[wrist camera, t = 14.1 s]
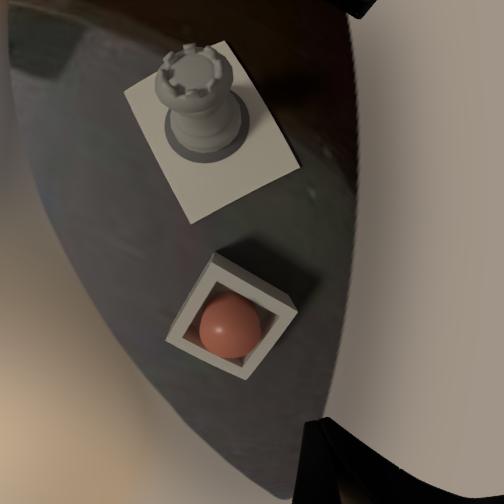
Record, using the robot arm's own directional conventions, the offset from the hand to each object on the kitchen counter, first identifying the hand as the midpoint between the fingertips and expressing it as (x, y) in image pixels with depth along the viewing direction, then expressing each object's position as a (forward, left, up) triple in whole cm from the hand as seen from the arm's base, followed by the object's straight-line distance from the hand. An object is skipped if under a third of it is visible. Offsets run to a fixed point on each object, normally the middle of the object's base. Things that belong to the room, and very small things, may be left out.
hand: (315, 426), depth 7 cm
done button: (+2, -2, -11) cm, 11 cm away
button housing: (+2, -2, -12) cm, 12 cm away
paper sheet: (-8, -10, -12) cm, 18 cm away
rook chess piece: (-8, -10, -12) cm, 17 cm away
